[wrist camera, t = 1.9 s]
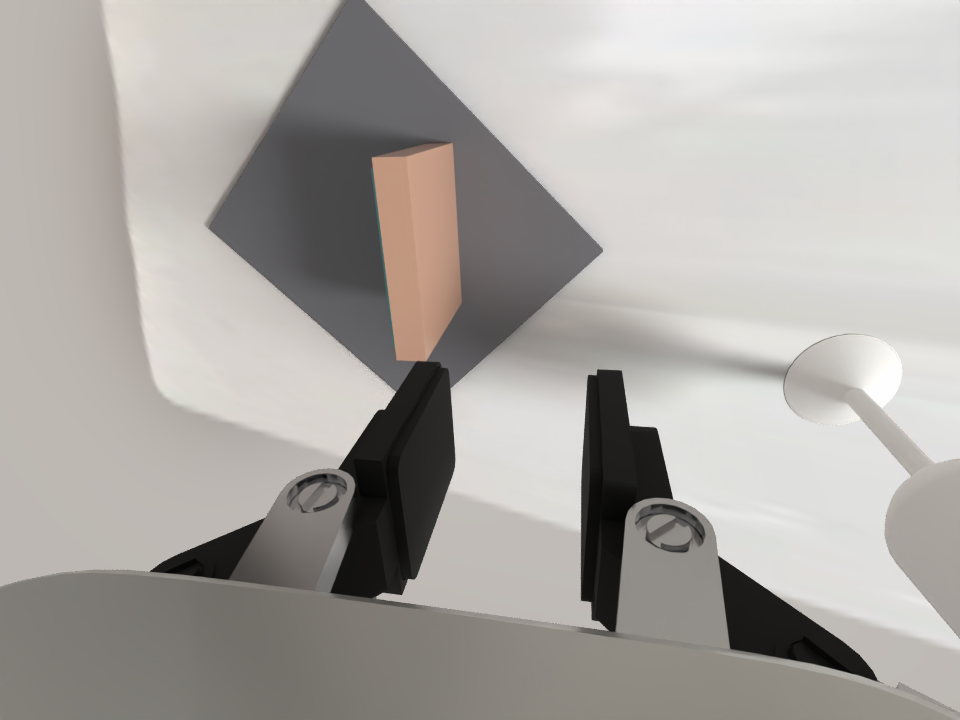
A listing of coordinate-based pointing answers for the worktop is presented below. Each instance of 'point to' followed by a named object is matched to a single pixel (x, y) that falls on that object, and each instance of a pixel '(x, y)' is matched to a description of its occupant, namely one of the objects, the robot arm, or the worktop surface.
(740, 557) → the worktop surface
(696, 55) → the worktop surface
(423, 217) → the tile
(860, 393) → the champagne flute
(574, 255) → the mat
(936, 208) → the worktop surface
